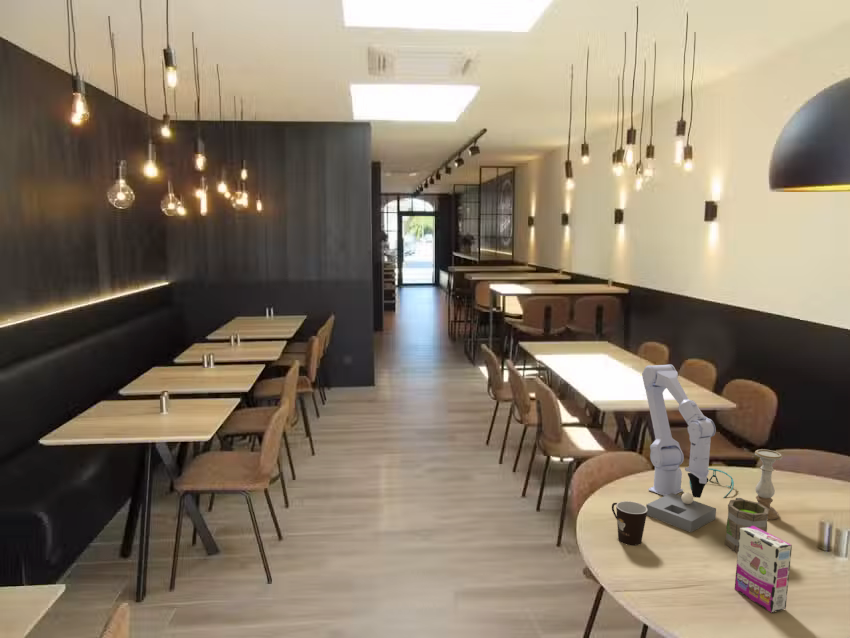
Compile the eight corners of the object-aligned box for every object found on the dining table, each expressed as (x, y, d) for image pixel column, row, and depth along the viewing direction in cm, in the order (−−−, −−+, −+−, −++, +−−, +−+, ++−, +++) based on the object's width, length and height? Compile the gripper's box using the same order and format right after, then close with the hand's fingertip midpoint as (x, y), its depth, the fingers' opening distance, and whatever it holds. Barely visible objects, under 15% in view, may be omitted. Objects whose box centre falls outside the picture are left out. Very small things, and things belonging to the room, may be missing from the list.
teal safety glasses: (735, 485, 226) (736, 472, 225) (729, 504, 214) (730, 490, 213) (693, 477, 234) (694, 464, 233) (685, 494, 221) (686, 481, 220)
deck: (671, 502, 210) (671, 492, 210) (715, 519, 199) (716, 508, 198) (645, 514, 201) (646, 504, 200) (690, 532, 189) (691, 521, 189)
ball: (684, 500, 204) (685, 489, 203) (694, 504, 201) (695, 493, 201) (678, 503, 202) (679, 492, 201) (689, 506, 199) (690, 496, 198)
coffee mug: (649, 547, 179) (651, 514, 178) (618, 547, 180) (621, 513, 178) (636, 528, 191) (638, 497, 190) (608, 528, 191) (609, 496, 190)
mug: (771, 558, 175) (775, 517, 173) (729, 554, 177) (733, 513, 175) (754, 532, 190) (757, 494, 188) (715, 528, 192) (718, 490, 190)
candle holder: (776, 522, 197) (782, 460, 194) (745, 514, 202) (750, 453, 199) (780, 513, 204) (786, 452, 201) (750, 505, 209) (755, 446, 206)
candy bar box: (787, 609, 150) (793, 544, 148) (771, 614, 149) (777, 548, 146) (748, 585, 161) (753, 524, 159) (733, 589, 159) (738, 527, 157)
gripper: (681, 447, 211) (679, 486, 213) (690, 463, 197) (687, 504, 199) (704, 449, 209) (701, 488, 211) (715, 465, 195) (711, 506, 197)
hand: (696, 496), depth 205 cm, fingers closed
